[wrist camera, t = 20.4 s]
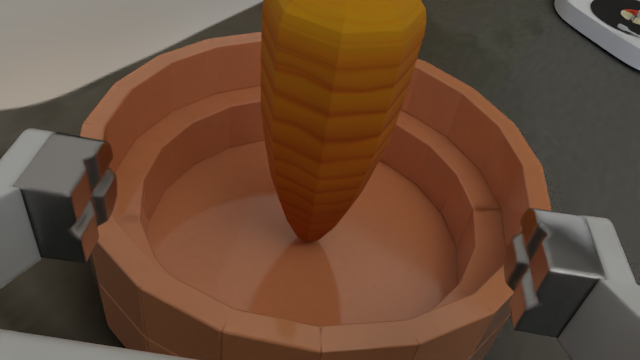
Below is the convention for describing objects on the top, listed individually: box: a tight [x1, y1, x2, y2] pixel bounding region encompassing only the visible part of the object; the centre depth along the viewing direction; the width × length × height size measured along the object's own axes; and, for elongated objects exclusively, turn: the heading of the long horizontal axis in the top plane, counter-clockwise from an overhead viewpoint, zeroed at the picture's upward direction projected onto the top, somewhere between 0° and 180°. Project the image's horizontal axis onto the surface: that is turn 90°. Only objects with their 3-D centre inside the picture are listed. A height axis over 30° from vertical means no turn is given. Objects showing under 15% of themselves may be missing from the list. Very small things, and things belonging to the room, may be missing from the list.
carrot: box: [261, 0, 426, 242], centre depth 19 cm, size 5×5×15 cm
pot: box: [80, 32, 552, 360], centre depth 23 cm, size 17×17×6 cm
